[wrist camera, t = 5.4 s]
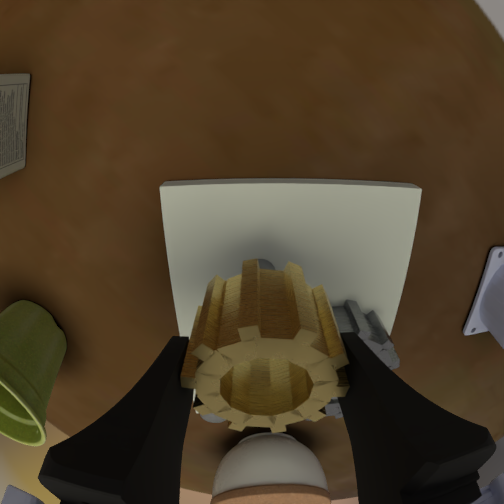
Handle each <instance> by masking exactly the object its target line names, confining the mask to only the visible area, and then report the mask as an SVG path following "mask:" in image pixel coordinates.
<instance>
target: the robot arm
mask: <svg viewBox="0 0 504 504" xmlns="http://www.w3.org/2000/svg"><path fill="white" fill-rule="evenodd" d="M486 331H489V332H490V333H491V334H492V335H493V336H494V338H495V339H496V340H497V341H498V343H499V344H500V345H501V346H502V348H503V349H504V247H493V248H492V249H491V251H490V253H489V257H488V260H487V264H486V267H485V270H484V274H483V277H482V280H481V283H480V286H479V289H478V292H477V295H476V298H475V300H474V303H473V306H472V308H471V311H470V314H469V316H468V319H467V321H466V324H465V326H464V329H463V333H464V334H465V335H472V334H477V333H482V332H486ZM340 335H341V338H342V341H343V344H344V347H345V351H346V354H347V357H348V360H349V364H347V365H345V366H344V368H345V371H346V375H347V379H348V382H349V386H350V387H349V389H348V391H347V393H346V395H345V397H337V398H338V401H339V404H340V408H341V411H342V414H343V417H344V420H345V424H346V427H347V430H348V434H349V437H350V441H351V446H352V451H353V458H354V464H355V471H356V479H357V489H358V500H359V504H504V472H503V473H502V474H500V475H499V476H497V477H496V478H495V479H494V480H492V481H491V483H490V484H489V485H487V486H485V487H483V488H481V489H479V486H478V484H477V480H478V479H479V477H480V476H479V474H478V471H477V470H478V469H479V468H480V467H481V466H482V465H483V464H484V463H485V462H486V461H487V460H488V459H489V458H490V457H491V456H492V455H493V454H494V452H495V450H496V444H495V442H494V440H493V438H492V436H491V435H490V433H489V431H488V429H487V428H486V427H483V426H480V425H477V424H475V423H472V422H469V421H467V420H465V419H462V418H460V417H458V416H456V415H454V414H452V413H450V412H448V411H446V410H444V409H443V408H441V407H439V406H438V405H436V404H434V403H433V402H431V401H430V400H428V399H427V398H425V397H424V396H422V395H421V394H419V393H418V392H417V391H415V390H414V389H413V388H411V387H410V386H409V385H408V384H406V383H405V382H404V381H403V380H402V379H401V378H399V377H398V376H397V375H396V374H395V373H394V372H393V371H392V370H391V369H390V368H389V367H388V366H387V365H386V364H385V363H384V362H383V361H382V360H381V359H380V358H379V357H378V356H377V355H376V354H375V353H374V352H373V351H372V350H371V349H370V348H369V347H368V346H367V345H366V344H365V342H364V341H363V340H362V339H361V338H360V337H359V336H358V335H357V334H356V333H355V332H344V333H340ZM188 344H189V336H173V337H172V338H171V339H170V340H169V342H168V343H167V345H166V346H165V348H164V349H163V350H162V352H161V353H160V355H159V356H158V357H157V359H156V360H155V361H154V363H153V364H152V365H151V367H150V368H149V369H148V370H147V372H146V373H145V374H144V375H143V377H142V378H141V379H140V380H139V381H138V382H137V383H136V384H135V386H134V387H133V388H132V389H131V390H130V391H129V392H128V393H127V394H126V395H125V396H124V397H123V398H122V399H121V400H120V401H119V402H118V403H117V404H116V405H115V406H114V407H112V408H111V409H110V410H109V411H108V412H106V413H105V414H104V415H103V416H102V417H100V418H99V419H98V420H96V421H95V422H94V423H92V424H91V425H89V426H88V427H86V428H85V429H83V430H82V431H80V432H79V433H77V434H75V435H74V436H72V437H70V438H68V439H66V440H64V441H62V442H60V443H58V444H56V445H54V446H52V447H50V448H49V450H48V452H47V454H46V456H45V459H44V462H43V465H42V467H41V470H40V473H39V476H38V479H39V481H40V483H41V484H42V485H43V486H44V487H45V488H47V489H48V490H49V491H50V492H51V493H52V494H54V495H55V496H56V497H57V498H59V499H60V500H61V502H60V504H179V494H180V474H181V460H182V450H183V443H184V438H185V433H186V428H187V423H188V419H189V414H190V409H191V404H192V400H193V393H194V389H192V388H184V387H181V377H180V376H181V372H182V368H183V364H184V360H185V356H186V352H187V348H188ZM1 504H44V503H43V502H42V501H41V500H40V499H38V498H37V497H35V496H33V495H31V494H29V493H27V492H25V491H23V490H20V489H18V488H16V487H14V486H12V485H8V486H7V489H6V492H5V495H4V497H3V500H2V503H1Z"/></svg>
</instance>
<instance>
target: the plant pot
mask: <svg viewBox="0 0 504 504" xmlns="http://www.w3.org/2000/svg"><path fill="white" fill-rule="evenodd" d="M66 349H67V342H66V338H65V335H64V332H63V331H62V330H61V329H59V327H58V326H57V325H56V323H55V322H54V320H53V317H52V315H51V314H50V313H49V312H47V311H46V310H45V309H44V308H42V307H41V306H39V305H37V304H35V303H33V302H30V301H26V300H20V301H17V302H15V303H13V304H11V305H10V306H9V307H7V308H6V309H5V310H4V311H2V312H1V313H0V433H1V434H3V435H5V436H6V437H9V438H10V439H12V440H14V441H17V442H19V443H22V444H25V445H29V446H40V445H42V444H44V443H45V440H46V430H45V428H44V426H45V421H46V408H47V405H48V401H49V398H50V395H51V392H52V389H53V386H54V383H55V380H56V377H57V374H58V371H59V368H60V366H61V363H62V360H63V358H64V355H65V352H66Z"/></svg>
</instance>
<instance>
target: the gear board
mask: <svg viewBox="0 0 504 504" xmlns="http://www.w3.org/2000/svg"><path fill="white" fill-rule="evenodd" d="M421 192H422V189H421V188H419V187H418V186H416V185H414V184H412V183H398V182H383V181H364V180H341V179H303V178H244V179H205V180H182V181H165V182H164V183H163V184H162V185H161V186H160V197H161V207H162V216H163V225H164V233H165V242H166V249H167V257H168V264H169V271H170V278H171V285H172V291H173V298H174V304H175V310H176V316H177V322H178V327H179V333H180V336H189V340H190V336H191V332H192V328H193V324H194V320H195V316H196V313H197V309H198V306H202V305H203V301H204V297H205V293H206V289H207V285H208V283H209V282H210V281H211V280H212V279H213V278H214V277H215V276H216V275H218V276H219V277H221V278H222V279H223V280H225V281H226V280H227V279H229V278H231V277H234V276H237V275H239V274H242V265H243V261H245V260H250V259H256V258H257V259H258V263H259V267H260V269H269V270H280V271H283V270H284V269H285V267H286V265H287V263H288V261H289V262H292V263H294V264H297V265H299V266H302V270H303V274H304V278H305V282H306V284H308V285H309V286H311V288H312V289H313V288H315V287H317V286H319V285H321V284H322V285H323V287H324V289H325V291H326V293H327V295H328V298H329V301H330V304H331V307H332V306H343V305H344V303H345V301H346V299H348V300H353V301H356V302H357V304H358V306H359V308H360V310H361V312H363V313H365V314H368V313H369V312H371V311H372V310H374V311H375V312H376V314H377V315H378V316H379V318H380V319H381V321H382V323H383V325H384V327H385V329H386V331H387V332H388V334H389V336H390V333H391V330H392V327H393V323H394V320H395V316H396V313H397V309H398V305H399V302H400V298H401V294H402V290H403V286H404V282H405V278H406V273H407V269H408V265H409V260H410V255H411V250H412V245H413V240H414V235H415V230H416V224H417V218H418V212H419V205H420V199H421ZM195 394H196V389H194V393H193V401H194V400H195ZM331 399H338V398H337V397H332V398H331ZM196 413H199V412H197V411H196ZM200 416H201V417H202V418H203V419H204V420H206V421H208V422H213V423H219V422H223V421H225V420H226V419H223V418H221V417H218V416H216V415H214V414H213V413H210V414H207V415H203V416H202V415H201V414H200Z"/></svg>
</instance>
